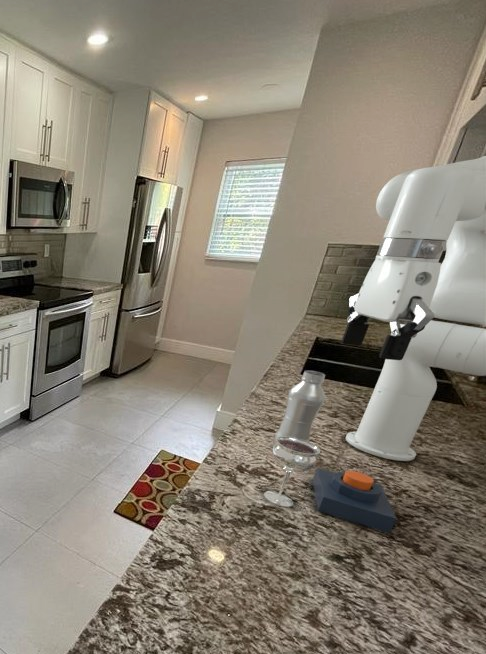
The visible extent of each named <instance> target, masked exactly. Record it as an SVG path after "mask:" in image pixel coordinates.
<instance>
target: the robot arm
mask: <svg viewBox="0 0 486 654" xmlns="http://www.w3.org/2000/svg"><path fill="white" fill-rule="evenodd" d="M375 210H376V213H377V215H378V217H380V219H382V220H386V221H388V224H387V225H386V229H385V231H384V233H383V237H382V239H381V242H380V245H379V248H378V250H377V253H376V256H375V258H374V259H375V260H374V261H373V262H372V264H371V266H370V268H369V270H368V272H367V274H366V276H365V278H364V281H363V282H362V284H361V287H360V289H359V291H358V293H357V294H354V295H352V296H350V297H349V302H348V303H349V304H348V305H349V307H348V309H347V313H348V317H347V318H346V322H347V325H346V327H345V330H344V333H343V336H342V339H341V341H340V342H341V344H344V345H352V346H361V345H362V344H363V343H364V340H365V337H366V334H367V332H368V330H369V327H370V324H369V323H368V322H370V321H371V320H372V319H375V320H379V321H381V322H387V323H388V324H389V328H390V332H391V333H390V334H386V335H387V336H386V337H385V339H384V342H383V345H382V347H381V350H380V352H379V354H378V357H379V358H380V359H382V360H384V363H383V367H382V369H381V372H380V374H379V376H378V379H377V382H376V384H375V387H374V389H373V391H372V394H371V396H370V398H369V401H368V403H367V406H366V408H365V411H364V413H363V415H362V417H361V421H360V423H359V425H358V428H357V430H356V431H350V432H348V433H347V434H346V436H345V441H346V442H347V443H348V444H349V445H350V446H352V447H354V448H356V449H357V450H360V451H361V452H365V453H366V454H369V455H373V456H376V457H379V458H382V459H385V460H386V459H387V460H392V461H397V462H410V461H413V460H415V458H416V456H417V453H416V450H414V449H413V447H410V446H411V444H412V442H413V440H414V438H415V436H416V434H417V431H418V429H419V428H420V425H421V423H422V421H423V419H424V417H425V415H426V412H427V411H428V408H429V406H430V404H431V402H432V399H433V398H434V396H435V394H436V391H437V388H438V385H437V384H438V383H437V380H436V377H435V375H434V373H433V370H431V367H432V368H437V369H443V370H448V371H452V372H457V373H461V374H465V375H471V376H479V377H486V328H482V327H476V326H469V325H464V324H458V323H465V324H472V325H478V326H483V327H486V155H484V156H481V157H478V158H475V159H468V160H461V161H456V162H451V163H447V164H441V165H436V166H430V167H429V166H428V167H423V168H419V169H412V170H409V171H405V172H401V173H399V174H397V175H396V176H394V177H392V178H391V179H390V180H389V181H387V183H385V185H384V186H383V187H382V189H381V190H380V191H379V194H378V195H377V197H376V202H375ZM444 249H446V250H445V255H444V258H443V261H442V262H439V261H440V259H441V256H442V255H443V253H444ZM434 318H436V319H439V320H446V321H451V322H458V323H451V322H445V321H438V320H433V319H434Z"/></svg>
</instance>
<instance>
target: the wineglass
mask: <svg viewBox="0 0 486 654" xmlns="http://www.w3.org/2000/svg"><path fill="white" fill-rule="evenodd" d="M276 441H277V443H276V444H275V445H273V446H272V449H271V453H272V458H273V460H274V461H275V462H276V464H277V465H278V466H280V467H281V468H282V469H283V471H285V472H284V475H283V478H282V482H281V485H280V488H279V491H272V490H267V491H264V493H263V496H264V498H265V499H267V500H268V501H269V502H271V503H272V504H275V505H278V506H281V507H292V506H293V505H294V501H293V500H292V498H290V497H289V496H287V495H285V494H283V491H284V489H285V488H286V484H287V482H288V480H289V478H290V475H291V474H292V473H302V472H306V471H309V470H312V469H313V468H314V467H315V466H316V464H317V462H318V455H319V454H320V453H321V449H320V447H318V446H317V445H316V444H314V443H312V442H311V441H309V442H308V441H305V440H302V439H299V438H295V437H289V436H280V437H277V438H276Z"/></svg>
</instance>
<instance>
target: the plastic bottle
mask: <svg viewBox="0 0 486 654" xmlns="http://www.w3.org/2000/svg"><path fill="white" fill-rule="evenodd" d="M325 378H326V374H325V373H323V372H321V371H316V370H308V369H307V370H304V372H303V374H302V376H301V381H300V382H298V383H297V384H294V385H293V386H292V387H291V388H290V389H289V390H288V394H287V401H286V408H285V411H284V414H283V415H284V416H283V419H282V422H281V424H280V426H279V428H278V430H277V431H276V433H275V434H274V437H273V439H272V445H273V446H274V445H275V444H276V443H277V441H276V438H277V437H280V436H289V437H295V438H299V439H302V440H305V441H308V442H310V438H311V437H310V436H311V432H312V428H313V424H314V423H315V420H316V418H317V416H318V414H319V412H320V410H321V409H322V407H323V405H324V403H325V401H326V394H325V391H324V389H323V387H322V384H324V382H325V381H324V380H325Z"/></svg>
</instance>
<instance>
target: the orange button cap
mask: <svg viewBox="0 0 486 654" xmlns="http://www.w3.org/2000/svg"><path fill="white" fill-rule="evenodd" d="M344 472H345V475H344V477H343V481H344V482H345V483H346V484H348V485H350V486H352V487H354V488H358V489H362V490H370V488H371V486H372V484H373V482H374V479H373V478H372V477H370V476H369V475H367V474H366V473H363V472H359V471H356V470H346V471H344ZM374 483H375V482H374Z"/></svg>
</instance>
